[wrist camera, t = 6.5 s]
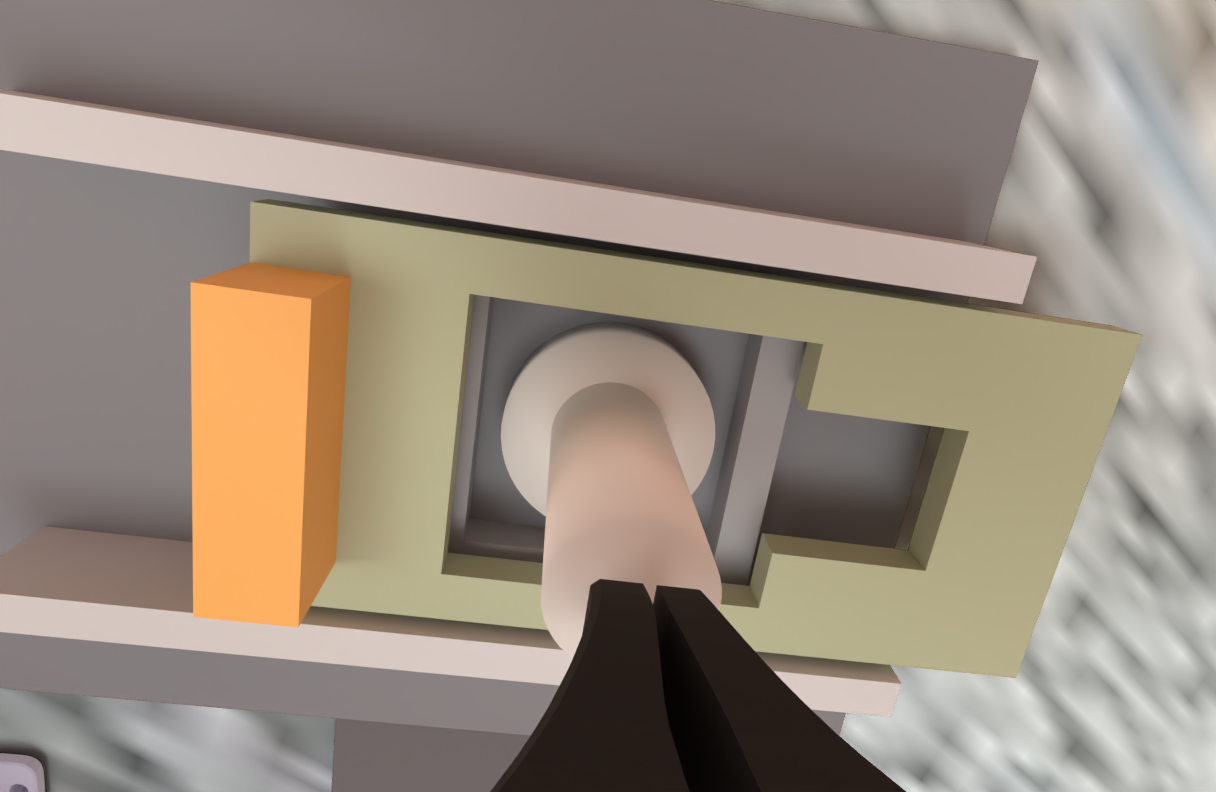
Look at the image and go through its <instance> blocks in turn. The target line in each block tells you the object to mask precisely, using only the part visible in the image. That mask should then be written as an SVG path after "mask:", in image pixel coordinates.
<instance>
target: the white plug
mask: <svg viewBox="0 0 1216 792" xmlns="http://www.w3.org/2000/svg"><path fill="white" fill-rule="evenodd" d="M714 443H715V420H714V413H713V409H712V406H711V402H710V399H709V397H708V394H707V392H706V390H705V388H704V386H703V384H702V382H701V381H700V379H699V377H698V376H697V374H696V372H695V371H694V369H693V367H692V366H691V364H690V363H689V361H688V360H687V359H686V358H685V357H684V355H683V354H682V353H681V352H680V351H679V350H678V349H677V348H675V347H674V346H673V345H672V344H671V343H670V342H668V341H667V340H665V339H664V338H662V337H661V336H659V335H657V334H655V333H653V332H651V331H649V330H646V329H643V328H641V327H638V326H634V325H629V324H625V323H615V322H599V323H591V324H585V325H581V326H577V327H574V328H571V329H568V330H566V331H564V332H562V333H560V334H557V335H556V336H554V337H552V338H551V339H549V340H548V341H546V342H545V343H543V344H542V345H541V346H540V347H539V348H537V349H536V350H535V351H534V352H533V353H532V354H531V355H530V356H529V358H528V359H527V360H526V361H525V362H524V364H523V365H522V367H521V368H520V369H519V371H518V373H517V375H516V377H515V379H514V381H513V383H512V385H511V388H510V391H509V394H508V397H507V401H506V405H505V409H504V413H503V419H502V424H501V445H502V453H503V457H504V461H505V465H506V467H507V470H508V472H509V475H510V477H511V479H512V481H513V482H514V484H515V486H516V488H517V489H518V490H519V492H520V493H521V494H522V496H523V497H524V498H525V499H526V500H527V501H528V502H529V503H530V504H531V505H532V506H533V507H534V508H535V509H536V510H538V511H539V512H540V513H541V514H543V515H544V516H546V523H545V539H544V555H543V571H542V587H541V609H542V614H543V618H544V621H545V624H546V626H547V629H548V631H549V632H550V634H551V636H552V637H553V639H554V640H555V641H556V643H557V644H558V645H559V647H560V648H562V649H563V650H564V651H565V652H566V653H567V654H568V655H569V656H571V657H572V658H573V657H574V654H575V652H576V649H577V647H578V644H579V642H580V639H581V637H582V633H583V627H584V621H585V615H586V609H587V603H588V596H589V590H590V585H591V584H593V583H594V582H596V581H597V580H599V579H607V580H616V581H625V582H634V583H643V584H644V586H645V588H646V590H647V592H648V594H649V596H650V598H651V601H652V603H653V602H654V597H655V592H656V586H657V585H662V586H671V587H680V588H689V589H698V590H701V591H702V592H703V593H704V594H705V596H706V597H707V598H708V599H709V600H710V601H711V602H712V603H713V604H714V605H715V607H716V608H717V609H718V610H720V605H721V599H722V586H721V579H720V575H719V572H718V568H717V566H716V563H715V560H714V557H713V554H712V552H711V549H710V546H709V543H708V541H707V538H706V535H705V532H704V530H703V527H702V524H701V521H700V518H699V516H698V513H697V510H696V507H695V505H694V502H693V499H692V496H691V495H692V494H693V493H694V491H695V490H696V489H697V488H698V486H699V484H700V483H701V481H702V479H703V478H704V476H705V474H706V472H707V469H708V467H709V465H710V462H711V458H712V454H713V451H714Z"/></svg>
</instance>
